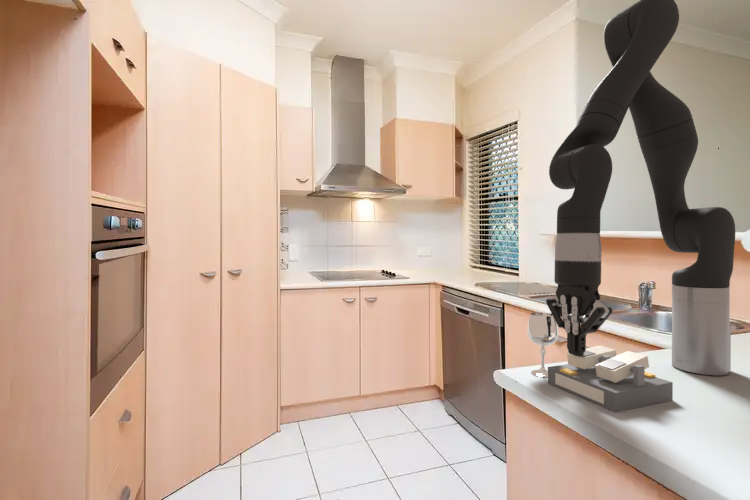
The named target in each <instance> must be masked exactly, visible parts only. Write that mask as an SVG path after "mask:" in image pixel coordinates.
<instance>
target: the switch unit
mask: <svg viewBox="0 0 750 500" xmlns="http://www.w3.org/2000/svg"><path fill="white" fill-rule="evenodd" d="M610 358H611V356H608V355H605V356H601V362H603V361H606V360H608V359H610ZM547 371H548V377H547V383H548V384H549V385H552V386H554V387H557V388H559V389H561V390H564V391H566V392H567V393H568V392H569V393H570V394H573V395H575V396H577V397H580V398H582V399H585V400H586V401H589V402H592V403H593V404H596V405H598V406H601V407H603V408H605V409H607V410H610V411H612V412H613V413H614V412H615V413H618V412H622V411H627V410H633V409H637V408H642V407H647V406H650V405H656V404H661V403H666V402H670V401H673V395H674V394H673V387H674V386H673V385H674V383H673V381H670V380H667V379H663V378H660V377H657V376H656V374H653V373H651V372H647V371H645V369H644V366H642V365H635V366H634V374H633V375H631V376H629V377H627V378H625V379H623V380H620V381H618V382H616V383H615V382H612V381H609V380H606V379H603V378H601V377H598V376H597V374H596V368H595V366H594V367H590V368H587V369H582V368H579V367H576V366H573V365H570V364H568V363H566V364H558V365H552V366H547Z"/></svg>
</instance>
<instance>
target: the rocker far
mask: <svg viewBox="0 0 750 500" xmlns="http://www.w3.org/2000/svg"><path fill="white" fill-rule="evenodd" d="M649 363H650V362H649V357H648V355H646V354H642V353H637V352H633V351H630V350H626V351H625V352H622V353H619V354H616V356H615V357H613V358H610V359H608V360H606V361H603V362H601V363H599V364H596V365H595V368H596V374H597V376H598V377H601V378H603V379H606V380H609V381H612V382H615V383H616V382H618V381H620V380H623V379H625V378H627V377H629V376H631V375H633V374H634V366H635V365H642V366H644V370H646V369H648V368H650V364H649Z"/></svg>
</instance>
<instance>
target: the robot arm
mask: <svg viewBox="0 0 750 500" xmlns="http://www.w3.org/2000/svg"><path fill="white" fill-rule="evenodd" d="M679 20H680V12H679V7H678V4H677V3H676V0H638V1H637V2H635V3H633V4H632V5H630V6H628V7H627V8H625V9H624V10H622V11H620V12H619V13H617V14H615V15H614V16H613V17H611V18H610V19H608V21H607V23H606V24H605V26H604V30H603V43H604V48H605V51H606V54H607V56H608V59H609V62H610V63H611V66H612V69H610V71H609V72H608V73H607V74H606V75H605V77H603V79H602V80H601V81H600V83H598V85H597V86H596V87H595V89H594V90H593V91H592V93H591V94H590V96H589V97H588V100H587V101H586V103H585V105H584V108H583V109H582V112H581V114H580V116H579V118H578V120H577V123H576V125H575V127H574V128H573V129H572V130H571V132H570V133H569V134H568V135H567V137H565V139H564V141H563V142H562V143H561V145H560V146H559V147H558V148H557V149H556V151H555V153H554V154H553V156H552V158H551V161H550V164H549V167H548V168H549V169H548V175H549V180H550V181H551V183H552V185H554V187H556V188H558V189H560V190H572V189H573V193H572V194H571V197H570V198H569V199H567V200H566V201H564V202H561V203H560V204H559V205H558V207H557V212H556V213H557V214H556V237H555V238H556V239H555V244H554V277H553V279H554V280H553V281H554V283H555V284H556V285H557V288H556V289H555V295H554V296H553V297H551V298H548V299H546V301H545V303H546V305H547V308H548V310H549V311H550V313H551V314H552V315H553V317H554V319H555V321H556V323H557V325H558V328H562V329H564V331H565V333H566V348H567V351H568V352H567V353H570V354H573V355H576V356H579V355H583V354H584V353H585V350H586V347H587V345H586V343H587V335H589V334H594V333H596V332H597V331H598V330H599V329H600V328H601V326H602V325H604V323H605V322H606V321H607V319H608V318H609V317H610V316H611V315H612V313H613V309H612V307H611V306H606V305H604V304H603V303H602V301H601V295H600V291H599V287H600V285H601V284H602V241H601V234H600V233H601V211H602V207H603V204H604V201H605V199H606V194H607V192H608V188H609V186H610V185H609V184H610V182H611V178H612V173H613V161H612V157H611V154H610V152H609V151H608V150H607V149H606V148H605V147H606V146H608V145H610V144H611V143H612V142H613V141H614V139H615V138H616V137H617V135H618V133H619V130H620V128H621V126H622V123H623V121H624V119H625V117H626V114H627V112H628V110H629V113H630V115H631V117H632V121H633V125H634V129H635V133H636V136H637V140H638V143H639V144H638V145H639V147H640V149H641V150H640V151H641V154H642V155H643V159H644V162H645V165H646V168H647V171H648V175H649V179H650V183H651V186H652V191H653V195H654V199H655V201H654V202H655V205H656V210H657V211H656V212H657V218H658V222H659V228H660V232H661V236H662V239H663V240H664V241H663V242H664V243H665V245H666V246H667V248H668V249H670V250H671V251H673V252H675V253H676V252H677V253H690V254H692V253H693V254H697V256H696V257H697V259H696V260H695V261H694V263H693V264H691V265H690V266H688V267H685V268H681V269H678V270H674V271H673V272H672V274H671V365H672V366H673V368H676V369H678V370H681V371H684V372H689V373H693V374H698V375H707V376H727V375H729V374H730V371H731V369H732V368H731V367H732V366H731V365H732V364H731V363H732V362H731V357H732V356H731V355H732V353H731V352H732V350H731V347H732V345H731V343H732V342H731V341H732V340H731V339H732V338H731V337H732V336H731V335H732V333H731V331H732V327H731V323H730V318H731V317H730V316H731V315H730V313H731V312H730V310H731V309H730V307H731V305H730V303H731V302H730V292H731V291H730V284H731V283H730V282H731V278H732V274H733V270H734V259H735V258H734V257H735V256H734V255H735V246H736V245H735V244H736V223H735V219H734V217H733V215H732V213H731V212H730V211H729V209H727V208H724V207H721V206H710V207H701V208H700V207H699V208H689V206H688V204H687V200H686V195H685V183H686V179H687V176H688V173H689V172H690V168H691V167H692V164H693V161H694V160H695V159H694V158H695V157H696V154H697V150H698V145H699V137H698V136H699V135H698V133H697V130H696V126H695V123H694V119H693V115H692V112H691V110H690V108H689V107H688V105H686V103H685V102H684V101H683V100H681V98H679V97H678V96H677V95H675V94H674V93H673V92H671V91H670V90H669V89H667V88H666V87H664V86H663V84H661V83H659V82H658V80H656V78H655V77H654V76H653V74H652V71H651V70H652V69H653V67H654V66H655V64H656V62H657V61H658V60H659V58H660V56H661V55H662V54H663V52H664V50H665V49H666V48H667V46H668V45H669V44H670V42H671V40H672V38H673V37H674V36H675V33H676V32H677V28H678V26H679V22H680V21H679Z"/></svg>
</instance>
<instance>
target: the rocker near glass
mask: <svg viewBox="0 0 750 500" xmlns="http://www.w3.org/2000/svg"><path fill="white" fill-rule="evenodd" d="M566 354H567V364H570V365H573V366H576V367H579V368H582V369H587V368H590V367H594V366H595V365H596V364H599V363H601V356H605V355H608V356H611V358H613V357H615V356H617V349H614V348H611V347H607V346H603V345H595V346H592V347H587V348H586V350H585V353H584V354H583V355H579V356H576V355H573V354H570V353H569V352H567V353H566Z"/></svg>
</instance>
